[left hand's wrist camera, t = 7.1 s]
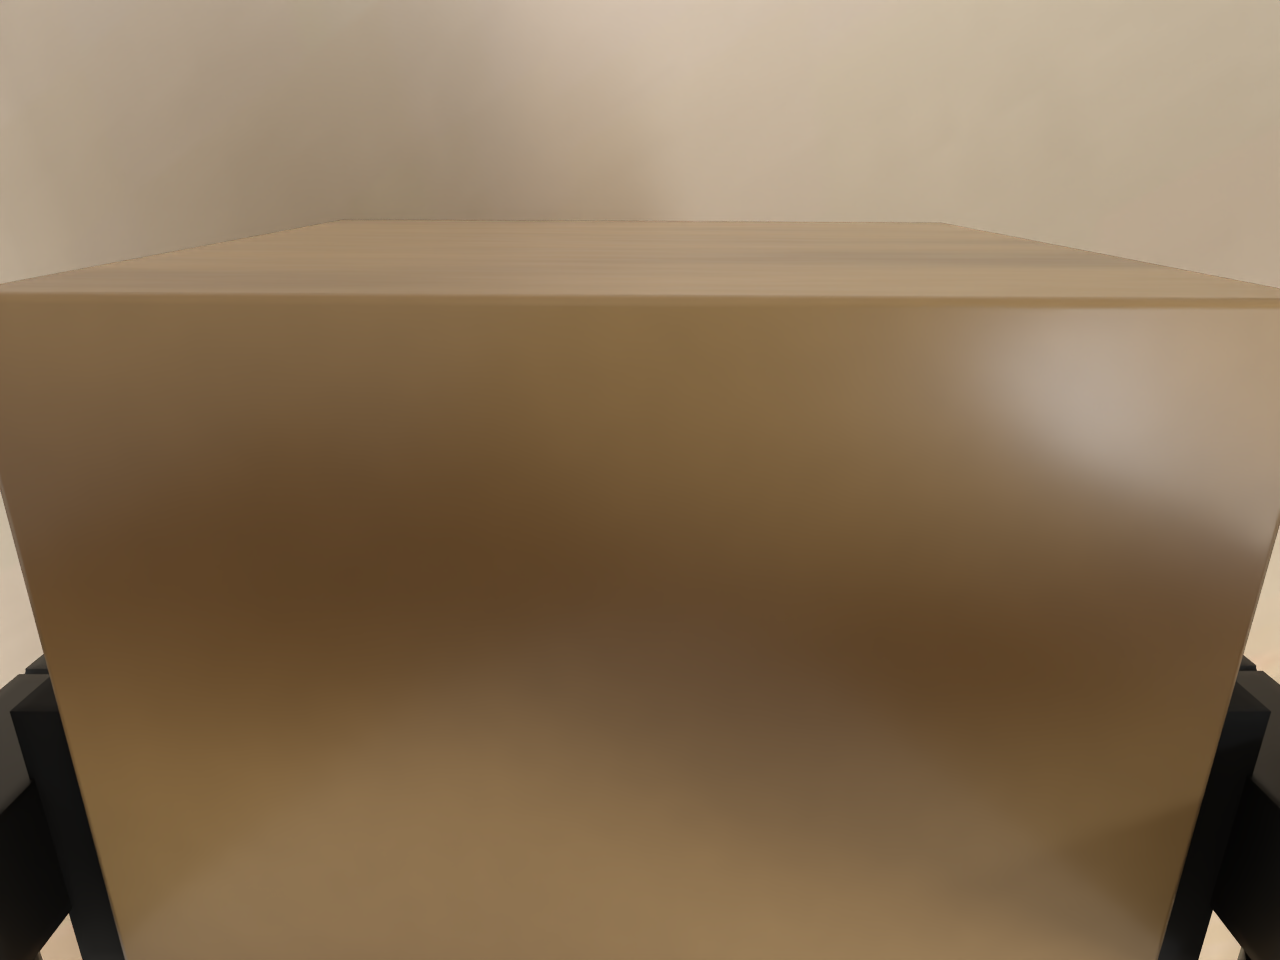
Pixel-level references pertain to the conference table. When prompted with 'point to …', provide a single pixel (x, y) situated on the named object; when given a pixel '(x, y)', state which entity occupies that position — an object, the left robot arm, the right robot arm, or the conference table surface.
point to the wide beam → (641, 585)
